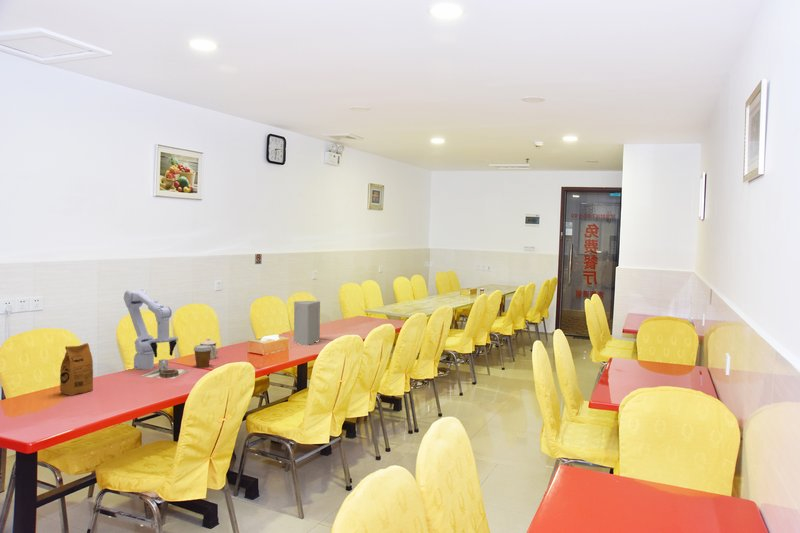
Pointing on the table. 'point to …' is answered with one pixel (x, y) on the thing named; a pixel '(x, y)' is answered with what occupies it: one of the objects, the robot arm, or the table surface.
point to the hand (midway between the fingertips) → (163, 356)
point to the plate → (156, 375)
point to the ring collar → (168, 373)
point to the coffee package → (76, 370)
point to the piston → (163, 365)
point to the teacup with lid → (213, 346)
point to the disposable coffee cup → (202, 355)
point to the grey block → (306, 322)
